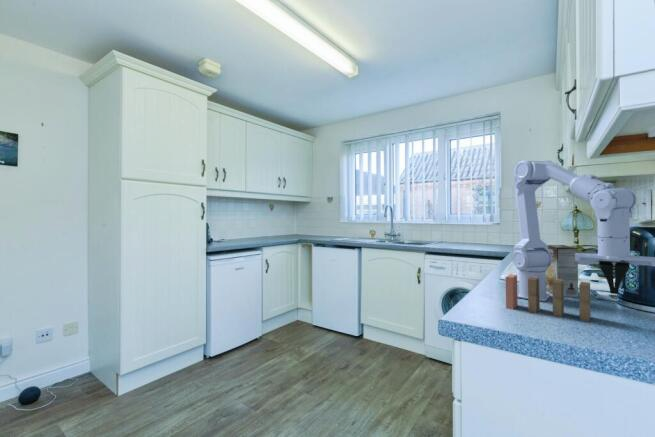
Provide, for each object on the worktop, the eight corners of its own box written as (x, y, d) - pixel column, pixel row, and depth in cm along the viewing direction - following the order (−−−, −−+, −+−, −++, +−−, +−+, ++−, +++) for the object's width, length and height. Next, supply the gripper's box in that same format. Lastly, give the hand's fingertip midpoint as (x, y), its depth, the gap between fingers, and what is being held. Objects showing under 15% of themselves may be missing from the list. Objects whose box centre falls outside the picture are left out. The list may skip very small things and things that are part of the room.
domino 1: (510, 304, 92) (510, 274, 92) (517, 305, 91) (517, 275, 91) (506, 307, 88) (505, 276, 88) (513, 309, 87) (512, 277, 87)
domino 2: (532, 307, 88) (531, 276, 88) (539, 308, 87) (539, 277, 87) (528, 311, 85) (527, 279, 85) (536, 312, 83) (535, 280, 83)
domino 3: (555, 311, 84) (555, 278, 84) (563, 312, 83) (563, 279, 83) (552, 315, 81) (552, 281, 81) (561, 317, 79) (560, 282, 79)
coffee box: (543, 289, 108) (542, 244, 108) (563, 290, 107) (563, 244, 107) (557, 296, 99) (556, 247, 99) (579, 297, 98) (579, 247, 98)
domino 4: (581, 315, 81) (581, 281, 80) (590, 316, 79) (590, 282, 79) (579, 320, 77) (579, 284, 77) (589, 321, 76) (588, 285, 76)
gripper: (573, 237, 76) (574, 291, 76) (658, 239, 66) (659, 301, 66) (576, 235, 81) (577, 286, 81) (655, 237, 71) (656, 295, 71)
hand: (614, 293), depth 74 cm, fingers closed
